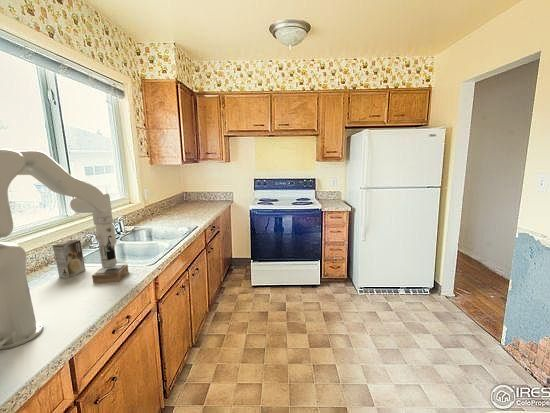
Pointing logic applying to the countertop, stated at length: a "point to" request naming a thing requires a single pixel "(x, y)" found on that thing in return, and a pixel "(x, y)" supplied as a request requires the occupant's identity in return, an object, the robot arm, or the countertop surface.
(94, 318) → the countertop surface
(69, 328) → the countertop surface
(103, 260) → the energy drink can
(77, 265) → the coffee box
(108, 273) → the plate
